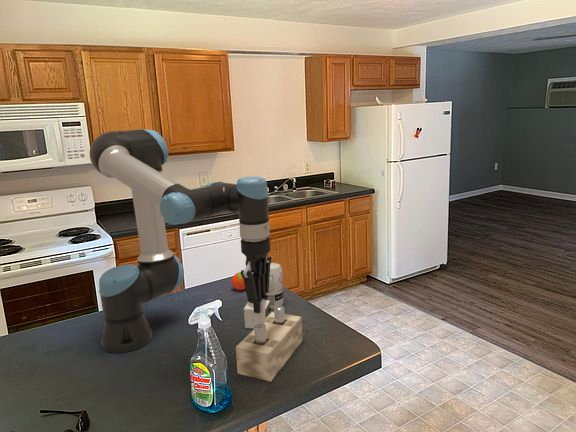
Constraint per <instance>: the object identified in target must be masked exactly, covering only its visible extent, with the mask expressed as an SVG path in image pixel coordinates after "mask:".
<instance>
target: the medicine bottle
mask: <svg viewBox="0 0 576 432" xmlns="http://www.w3.org/2000/svg"><path fill="white" fill-rule="evenodd" d="M264 299H265V315H266V317H267V316H268V315H269V314H270V313H271V309H270V301H269V300H266V298H264ZM243 315H244V328H245V329H251V330H254V329H255V325H256V324H260V323H255V322H254V308H253V302H250V301H248V300H247V303H246V304H245V306H244V307H243Z"/></svg>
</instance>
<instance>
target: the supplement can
mask: <svg viewBox="0 0 576 432" xmlns="http://www.w3.org/2000/svg"><path fill="white" fill-rule="evenodd" d="M283 280H284V278H283V268H282V266H281V264H280V263H279V262H278V263H277V262H271V264H270V278H269V292H268V293H266V295H268V298H266V300H269V301H270V310H271V309H273V310H274V307H275V306H278V305H281V306H283V305H284V304H285V303H284V301H285V299H284V281H283Z"/></svg>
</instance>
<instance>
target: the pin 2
mask: <svg viewBox="0 0 576 432" xmlns="http://www.w3.org/2000/svg"><path fill="white" fill-rule="evenodd" d="M273 312H274V317H275V324H278V325H284V323H285V314H286V313H285V306H284V305H282V306H281V305H278V306H275V307H274V309H273Z"/></svg>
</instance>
